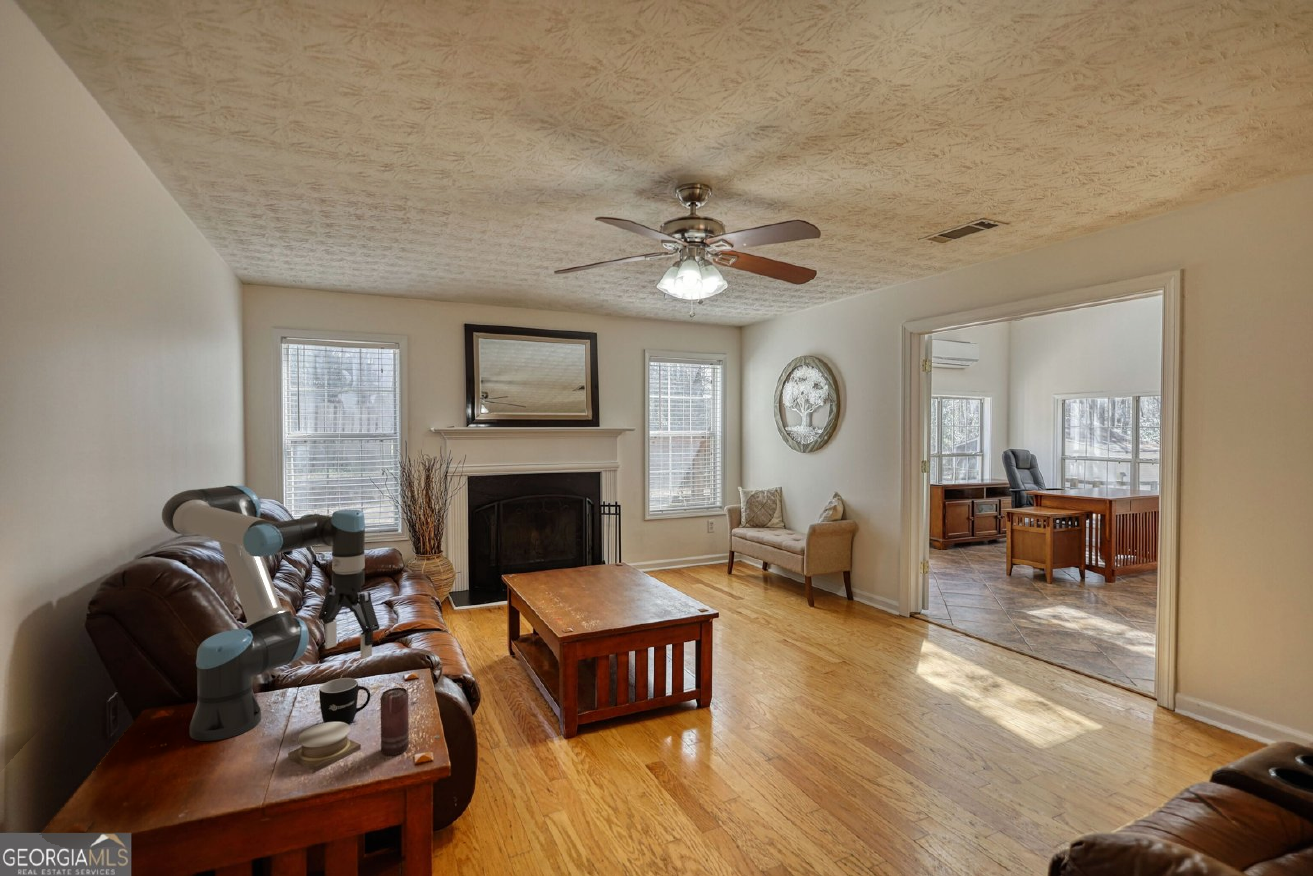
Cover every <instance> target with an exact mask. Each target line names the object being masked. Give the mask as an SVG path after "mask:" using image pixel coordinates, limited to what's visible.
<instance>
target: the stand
mask: <svg viewBox="0 0 1313 876" xmlns="http://www.w3.org/2000/svg"><path fill="white" fill-rule="evenodd" d="M350 732H351V726H350V725H348V724H347V723H344V722H327V723H324V722H322V723H319V724H315V725H313V726H311V727H308V728H306V729H304V730H303V731H302V732H301V733H300V734H299V735H298V741H297V742H298V744H299V745H300V747H299V748H296V749H294V750H292V751H289V752H287V758H288V759H289V760H291V761H293V762H296V763H297V764H300V765H301V766H304V767H306V768H307V769H310V770H312V771H314V772H315V773H316V772H318V771H320V770H322V769H324V768H326V767H329V766H330V765H332V764H335V763H336V762H338V761H340V760H342V759H344V758H345V757H349V756H350V755H353V754H354V753H355V752H358V751H360V750H361V749H362V748H361V747H362V746H361V745H362V744H361V743H359V742H357V741H354V740H352V739H350V738H348V736H349V735H350Z"/></svg>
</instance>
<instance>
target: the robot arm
mask: <svg viewBox="0 0 1313 876" xmlns="http://www.w3.org/2000/svg"><path fill="white" fill-rule="evenodd" d="M261 508H262V507H261V502H260V500H259V497H258V496H257V494H256V492H254V491H253V490H252V489H251V488H249V487H246V486H245V485H225V486H219V487H216V486H215V487H208V488H199V489H197V488H196V489H188V490H184V491H181V492H178V493H176V494H174V495H173V496H172V497H170V498H169V499H168V500H167V501H166V503H164V506H163V507H162V511H161V520H162V522H163V524H164V526H165V527H166V528H167V529H168V530H170V532H173V533H174V534H178V535H182V536H185V537H194V536H201V537H202V536H203V537H207V538H209V539H210V540H212V541H215V542H216V543H218V544H219V547H220V550H221V553H222V556H223V558H224V561H225V564H226V566H227V569H228V572H229V574H230V577H231V580H232V582H233V585H234V589H235V592H236V594H237V597H238V600H239V602H240V605H241V609H242V611H243V613H244V616H245V618H246V623H245V625H244V627H243V628H234V629H231V630H226V631H221V632H219V633H216V634H213V635H211V636H209V637H207V638H206V639H205V640H203V641H202V642H201V643H200V645H199V646H198V648H197V652H196V660H195V664H196V677H197V678H196V679H197V680H196V681H197V682H196V683H197V687H196V688H197V704H196V707H195V709H194V712H193V715H192V719H191V721H190V724H189V737H190V738H191V739H193V740H195V741H199V742H211V741H220V740H225V739H229V738H232V737H236V736H238V735H241V734H243V733H246V732H248V731H250V730H252V729H253V728H255V727H256V726H258V725H259V724H260V723H261V720H262V709H261V707H260V705H259V702H258V700H257V697H256V696H255V693H254V690H253V688H254V687H253V684H254V683H253V681H254V680H253V679H254V677H256V676H259V675H262V674H265V673H268V672H270V671H273V670H275V669H278V668H280V667H282V666H283V667H284V666H287V665H290V664H291V663H293V662H294V661H297V660H299V659H301V657H303V655H304V654H305V653H306V651H307V649H308V645H309V640H310V633H309V629H308V626H307V623H306V621H304V620H302V619H301V618H300V617H297V616H296V617H295V616H293V615H292V612H291V611H290V609H287V608H284V607H283V606H282V604H281V601H280V598H279V595H278V592H277V590H276V587H275V585H274V583H273V580H272V578H271V575H270V572H269V569H268V566H267V564H266V562H265V559H264V557H270V556H273V555H277V554H281V553H285V552H290V551H296V550H299V549H300V550H301V549H304V548H310V547H313V546H314V547H315V546H319V545H320V546H321V545H322V546H328V547H329V546H330V547H331V555H332V556H331V557H332V559H331V560H332V561H331V562H332V563H331V565H332V566H331V567H332V569H331V570H332V571H333V572H332V574H331V585H329V586H327V587H326V591H325V597H324V600H323V603H322V606H321V608H320V611H319V612H318V613H319V614H318V619H319V620H322V623H323V624H324V635H325V638H324V639H325V640H324V641H325V642H324V643H325V644H324V645H325V646H324V648H325V649H326V650H328V649H331V648H333V647H337V646H338V645H337V636H338V635H337V632H338V631H337V626H338V625H337V624H338V623H337V621H336V620H337V616H338V615H339V613H340V612H341V610H342V609H343V607H345V608H346V609H349V610H350V612H352V613H353V615H354V616H355V619H356V620H357V623H358V625H359V627H360V629H361V630H362V632H360V660H365V659H367V658H370V657H372V656H373V643H374V632H375V631H378V630H380V625H379V622H378V618H377V615H376V612H375V609H374V605H373V603H372V595H371V592H370V591H366V592H362V586H363V585H364V584H365V582H366V581H365V575H366V573H365V566H366V565H365V564H366V563H365V562H366V557H365V556H366V554H365V553H366V552H365V548H366V547H365V543H366V542H365V540H366V538H365V535H366V530H365V529H366V524H365V513H364V512H363V511H362V510H360V509H340V510H339V509H338V510H336V511H334V512H332V515H324V514H319V513H314V514H313V513H312V514H311V513H308V514H304V515H302V516H301V517H300V518H295V519H288V520H282V521H274V520H267V519H264V518H260V516H261Z"/></svg>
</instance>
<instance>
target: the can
mask: <svg viewBox="0 0 1313 876" xmlns="http://www.w3.org/2000/svg"><path fill="white" fill-rule="evenodd" d="M409 725H410V724H409V692H408V691H407V689H406V688H405V687H393V688H389V689H386V690H384V691H383V692H382V694H381V697H380V751H381V752H382V754H383V755H384V756H389V757H391V756H398V755H401V754H402V753H404V752H406V751H407V750H408V748H409V745H410V743H409V742H410V741H409V740H410V739H409V737H410V735H409V733H410V731H409V728H410V727H409Z"/></svg>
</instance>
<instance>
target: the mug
mask: <svg viewBox="0 0 1313 876" xmlns="http://www.w3.org/2000/svg"><path fill="white" fill-rule="evenodd" d="M360 690H361V691H362V690H363V691H365V692H366V694H367V698H366V700H365V702H364V703H363V704H362V705H360V706H359V707H358V697H359V691H360ZM318 693H319V706H320V713H321V718H322V723H327V722H344V723H347V724H348V725H349V726H350V725H351V724H352V723H353V722H354V720H355V717H356V714H357V713H358V712H361V711H362V710H364V709H365V708H366V707H367V705H369V703H370V701H371V692H370V690H369V689H368V687H365V686H363V685H359V681H358V680H357V679H355V678H351V677H344V678H343V677H342V678H337V679H331V680H329V681H326V682H325V683H323V684H321V686H320V687H319V690H318Z"/></svg>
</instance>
